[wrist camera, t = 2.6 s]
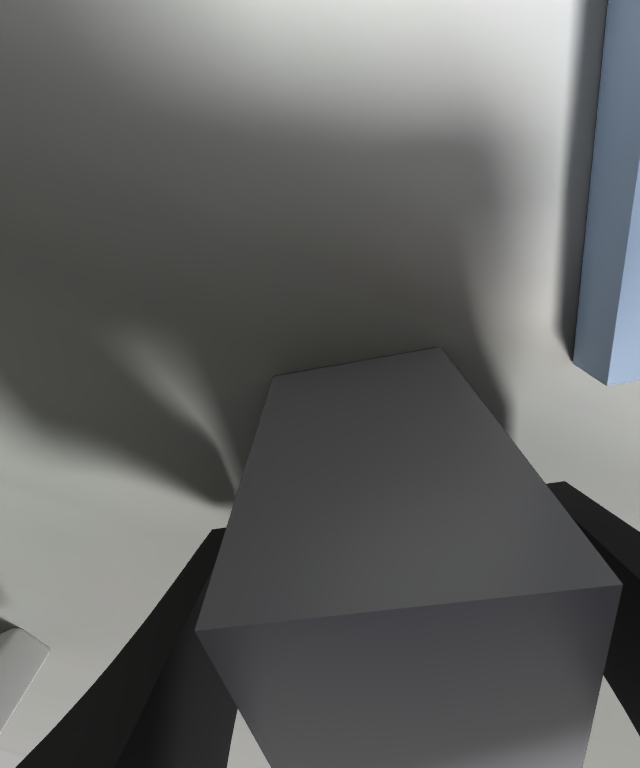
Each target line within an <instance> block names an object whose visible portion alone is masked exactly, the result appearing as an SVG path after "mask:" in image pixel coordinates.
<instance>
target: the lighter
mask: <svg viewBox="0 0 640 768" xmlns="http://www.w3.org/2000/svg"><path fill="white" fill-rule="evenodd" d="M49 654H50V648H48V647H47V646H45V645H44V644H43V643H41V642H40V641H38V640H37V639H35V638H34V637H33V636H31V635H30V634H28V633H27V632H25V631H24V630H22V629H19V628H13V629H10V630H8V631H6V632H3V633H1V634H0V734H1V732H2V731H3V729H4V728H5V726H6V724H7V723H8V721H9V719H10V718H11V716H12V714H13V713H14V711H15V710H16V708H17V706H18V705H19V703H20V701H21V700H22V698H23V696H24V695H25V693H26V692H27V690H28V688H29V687H30V685H31V683H32V682H33V680H34V678H35V677H36V675H37V674H38V672H39V670H40V669H41V667H42V665H43V664H44V662H45V660H46V659H47V657H48V656H49Z"/></svg>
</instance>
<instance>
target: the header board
mask: <svg viewBox="0 0 640 768" xmlns="http://www.w3.org/2000/svg"><path fill="white" fill-rule="evenodd" d="M573 364H574V365H576V366H577V367H579V368H580V369H582V370H583V371H585V372H586V373H588V374H589V375H591V376H592V377H594V378H595V379H597V380H598V381H600V382H601V383H603V384H604V385H606V386H611V385H617V384H623V383H630V382H636V381H640V0H608V7H607V17H606V28H605V38H604V48H603V58H602V69H601V79H600V89H599V100H598V110H597V120H596V130H595V141H594V151H593V161H592V171H591V182H590V192H589V202H588V213H587V223H586V233H585V243H584V254H583V264H582V274H581V284H580V295H579V305H578V315H577V326H576V336H575V346H574V356H573Z"/></svg>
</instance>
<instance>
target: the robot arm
mask: <svg viewBox="0 0 640 768" xmlns="http://www.w3.org/2000/svg"><path fill="white" fill-rule="evenodd" d="M546 485H547V486H548V488H549V489H550V490H551V491H552V493H553V494H554V495H555V497H556V498H557V499H558V501H559V502H560V503H561V504H562V506H563V507H564V508H565V510H566V511H567V512H568V514H569V515H570V516H571V517H572V519H573V520H574V521H575V523H576V524H577V525H578V527H579V528H580V529H581V530H582V532H583V533H584V534H585V536H586V537H587V538H588V540H589V541H590V542H591V543H592V545H593V546H594V547H595V549H596V550H597V551H598V553H599V554H600V555H601V556H602V558H603V559H604V560H605V562H606V563H607V564H608V566H609V567H610V568H611V569H612V571H613V572H614V573H615V575H616V576H617V577H618V579H619V580H620V581H621V582H622V584H623V587H622V591H621V596H620V600H619V605H618V609H617V614H616V618H615V623H614V628H613V632H612V637H611V641H610V646H609V650H608V655H607V659H606V664H605V668H604V673H603V675H604V677H605V678H606V680H607V681H608V683H609V685H610V686H611V688H612V690H613V691H614V693H615V695H616V696H617V698H618V699H619V701H620V703H621V704H622V706H623V708H624V709H625V711H626V713H627V715H628V716H629V718H630V720H631V722H632V723H633V725H634V727H635V729H636V730H637V732H638V734H639V736H640V532H639V531H637V530H636V529H634V528H633V527H631V526H630V525H628V524H627V523H626V522H624V521H623V520H621V519H620V518H618V517H617V516H615V515H614V514H612V513H611V512H609V511H608V510H606V509H605V508H603V507H602V506H600V505H599V504H598V503H596V502H595V501H593V500H592V499H590V498H589V497H587V496H586V495H584V494H583V493H581V492H580V491H578V490H577V489H576V488H574V487H573V486H571V485H570V484H568V483H567V482H565V481H563V482H556V483H549V484H546ZM225 531H226V528H220V529H212V530H211V532H210V533H209V535H208V536H207V537H206V539H205V540H204V541H203V543H202V544H201V545H200V547H199V548H198V549H197V551H196V552H195V554H194V555H193V556H192V558H191V559H190V561H189V562H188V563H187V565H186V566H185V568H184V569H183V570H182V572H181V573H180V574H179V576H178V577H177V579H176V580H175V581H174V583H173V584H172V585H171V587H170V588H169V590H168V591H167V592H166V594H165V595H164V596H163V598H162V599H161V600H160V602H159V603H158V604H157V606H156V607H155V608H154V610H153V611H152V612H151V614H150V615H149V616H148V618H147V619H146V620H145V621H144V623H143V624H142V625H141V627H140V628H139V629H138V630H137V632H136V633H135V634H134V635H133V637H132V638H131V639H130V640H129V642H128V643H127V644H126V645H125V647H124V648H123V649H122V650H121V652H120V653H119V654H118V655H117V657H116V658H115V659H114V660H113V662H112V663H111V664H110V665H109V666H108V668H107V669H106V670H105V671H104V672H103V673H102V675H101V676H100V677H99V678H98V679H97V681H96V682H95V683H94V684H93V685H92V686H91V687H90V689H89V690H88V691H87V692H86V693H85V694H84V695H83V697H82V698H81V699H80V700H79V701H78V702H77V703H76V704H75V705H74V706H73V708H72V709H71V710H70V711H69V712H68V713H67V714H66V715H65V716H64V718H63V719H62V720H61V721H60V722H59V723H58V724H57V725H56V726H55V727H54V728H53V729H52V731H51V732H50V733H49V734H48V735H47V736H46V737H45V738H44V739H43V740H42V741H41V742H40V743H39V744H38V745H37V746H36V747H35V748H34V749H33V750H32V751H31V752H30V753H29V754H28V755H27V756H26V757H25V758H24V759H23V760H22V762H20V763H19V764H18V766H17V767H16V768H227V762H228V756H229V750H230V744H231V739H232V734H233V729H234V724H235V719H236V714H237V709H238V707H237V706H236V704H235V702H234V700H233V699H232V697H231V695H230V693H229V691H228V690H227V688H226V686H225V684H224V683H223V681H222V679H221V677H220V675H219V674H218V672H217V670H216V668H215V667H214V665H213V663H212V661H211V659H210V658H209V656H208V654H207V652H206V650H205V649H204V647H203V645H202V643H201V642H200V640H199V638H198V636H197V634H196V633H195V628H196V624H197V621H198V618H199V615H200V611H201V608H202V605H203V602H204V598H205V595H206V592H207V589H208V586H209V582H210V579H211V576H212V573H213V569H214V566H215V563H216V560H217V556H218V553H219V550H220V547H221V544H222V540H223V537H224V534H225Z"/></svg>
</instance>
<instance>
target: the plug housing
mask: <svg viewBox="0 0 640 768" xmlns="http://www.w3.org/2000/svg"><path fill="white" fill-rule="evenodd" d="M622 587H623V584H622V582H621V581H620V580H619V579H618V577H617V576H616V575H615V573H614V572H613V571H612V569H611V568H610V567H609V566H608V564H607V563H606V562H605V560H604V559H603V558H602V556H601V555H600V554H599V553H598V551H597V550H596V549H595V547H594V546H593V545H592V543H591V542H590V541H589V540H588V538H587V537H586V536H585V534H584V533H583V532H582V530H581V529H580V528H579V527H578V525H577V524H576V523H575V521H574V520H573V519H572V517H571V516H570V515H569V514H568V512H567V511H566V510H565V508H564V507H563V506H562V504H561V503H560V502H559V501H558V499H557V498H556V497H555V495H554V494H553V493H552V491H551V490H550V489H549V488H548V486H547V485H546V484H545V482H544V481H543V480H542V478H541V477H540V476H539V474H538V473H537V472H536V471H535V469H534V468H533V467H532V465H531V464H530V463H529V461H528V460H527V459H526V458H525V456H524V455H523V454H522V452H521V451H520V450H519V448H518V447H517V446H516V445H515V443H514V442H513V441H512V439H511V438H510V437H509V435H508V434H507V433H506V432H505V430H504V429H503V428H502V426H501V425H500V424H499V422H498V421H497V420H496V419H495V417H494V416H493V415H492V413H491V412H490V411H489V409H488V408H487V407H486V406H485V404H484V403H483V402H482V400H481V399H480V398H479V396H478V395H477V394H476V393H475V391H474V390H473V389H472V387H471V386H470V385H469V383H468V382H467V381H466V380H465V378H464V377H463V376H462V374H461V373H460V372H459V370H458V369H457V368H456V367H455V365H454V364H453V363H452V361H451V360H450V359H449V357H448V356H447V355H446V354H445V352H444V351H443V350H442V348H441V347H437V348H431V349H426V350H420V351H415V352H409V353H403V354H398V355H392V356H386V357H381V358H375V359H370V360H364V361H358V362H353V363H347V364H341V365H336V366H330V367H324V368H319V369H313V370H308V371H302V372H296V373H291V374H285V375H279V376H274V377H273V379H272V382H271V385H270V388H269V392H268V395H267V398H266V401H265V405H264V408H263V411H262V414H261V417H260V421H259V424H258V427H257V430H256V434H255V437H254V440H253V443H252V447H251V450H250V453H249V456H248V459H247V463H246V466H245V469H244V472H243V476H242V479H241V482H240V485H239V489H238V492H237V495H236V498H235V501H234V505H233V508H232V511H231V514H230V518H229V521H228V524H227V527H226V531H225V534H224V537H223V540H222V544H221V547H220V550H219V553H218V556H217V560H216V563H215V566H214V569H213V573H212V576H211V579H210V582H209V586H208V589H207V592H206V595H205V598H204V602H203V605H202V608H201V611H200V615H199V618H198V621H197V624H196V628H195V633H196V634H197V636H198V638H199V640H200V642H201V643H202V645H203V647H204V649H205V650H206V652H207V654H208V656H209V658H210V659H211V661H212V663H213V665H214V667H215V668H216V670H217V672H218V674H219V675H220V677H221V679H222V681H223V683H224V684H225V686H226V688H227V690H228V691H229V693H230V695H231V697H232V699H233V700H234V702H235V704H236V706H237V707H238V709H239V711H240V713H241V715H242V716H243V718H244V720H245V722H246V723H247V725H248V727H249V729H250V731H251V732H252V734H253V736H254V738H255V739H256V741H257V743H258V745H259V747H260V748H261V750H262V752H263V754H264V755H265V757H266V759H267V761H268V763H269V764H270V766H271V768H583V763H584V759H585V754H586V750H587V745H588V741H589V736H590V732H591V727H592V723H593V718H594V714H595V709H596V705H597V700H598V695H599V691H600V686H601V682H602V677H603V673H604V668H605V664H606V659H607V655H608V650H609V646H610V641H611V637H612V632H613V628H614V623H615V618H616V614H617V609H618V605H619V600H620V596H621V591H622Z"/></svg>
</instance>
